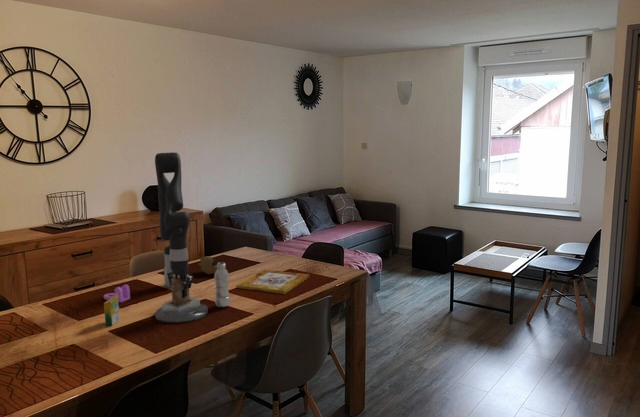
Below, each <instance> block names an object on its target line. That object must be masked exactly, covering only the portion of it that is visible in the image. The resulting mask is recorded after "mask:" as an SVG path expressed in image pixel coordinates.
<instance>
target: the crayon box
mask: <svg viewBox="0 0 640 417" xmlns="http://www.w3.org/2000/svg"><path fill="white" fill-rule="evenodd" d="M114 297H116V298H114ZM103 310H104V321H105V323H104V324H105V326H106V327H113V326H114V325H115V324H116V323H118V322H119V321H120V320H121V318H120V315H121V314H120V306H119V302H118V293H117V294H116V295H115V296H113V297H112V298H110V299H109V300H106V301H105V302H103Z"/></svg>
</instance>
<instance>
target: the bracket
mask: <svg viewBox="0 0 640 417" xmlns="http://www.w3.org/2000/svg"><path fill="white" fill-rule="evenodd" d="M117 293H118V303H123V302H126V301H128V300H130V299H131V290H130V286H129V285H128V284H123V285H122V286H117V287H114V293H113V292H111V293H105V294H104V295H103V299H104V300H106V301H108V300H109V299H110V298H112V297H113V296H115V295H116V294H117ZM114 298H116V297H114Z"/></svg>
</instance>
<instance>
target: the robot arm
mask: <svg viewBox="0 0 640 417" xmlns="http://www.w3.org/2000/svg"><path fill="white" fill-rule="evenodd" d="M181 162H182V160H181V157H180V154H179V153H178V152H172V151H171V152H158V153H156V155H155V157H154V166H155V172H156V181H157V197H158V198H157V199H158V200H157V201H158V211H159V234H160V236H159V237H160V238H161V240H162V241H169V245H168V246H166V247H164V248H163V254H164V268H163V272H164V273H163V276H164V286H166V287H167V288H169V289H170V288H171V289H172V283H171V278H178V279H180V282H181V283H180V284H181V286H182V298H186V297H187V289H189V290H190V289H191V288H192V285H193V279H194V276H193V275H189V273H188V269H189V252H188V243H187V242H188V238H187V236H188V230H189V227H190V221H191V218H190V214H189V213H188V212H187V211H181V210H183V208H184V200H183V192H182V191H183V190H182V163H181ZM165 174H173V177H172V179H171V181H169V180H168V178H167V177H166V175H165ZM185 280H186V281H185ZM183 281H185V282H183ZM184 284H185V287H184Z"/></svg>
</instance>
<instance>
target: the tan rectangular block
mask: <svg viewBox="0 0 640 417" xmlns="http://www.w3.org/2000/svg"><path fill="white" fill-rule="evenodd" d="M185 281H186V280H185ZM185 281H183V282H185ZM171 283H172V288H171V299H172V301H173V304H175V305H182V304H184V303H187V302H190V297H191V296H190V288H189V289H187V297H186V298H182V286H181V284H180V283H181V282H180V279H178V278H171ZM184 287H185V284H184Z"/></svg>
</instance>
